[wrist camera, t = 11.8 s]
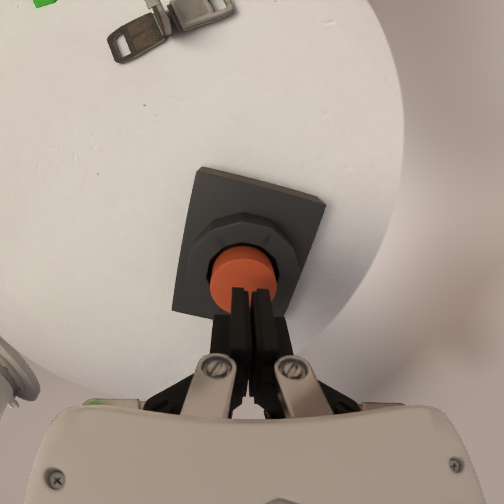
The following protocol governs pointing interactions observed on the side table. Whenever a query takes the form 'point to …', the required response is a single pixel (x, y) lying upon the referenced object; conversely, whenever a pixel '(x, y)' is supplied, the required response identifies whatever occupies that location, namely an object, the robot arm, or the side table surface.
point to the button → (241, 274)
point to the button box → (243, 235)
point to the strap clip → (164, 24)
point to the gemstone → (42, 2)
